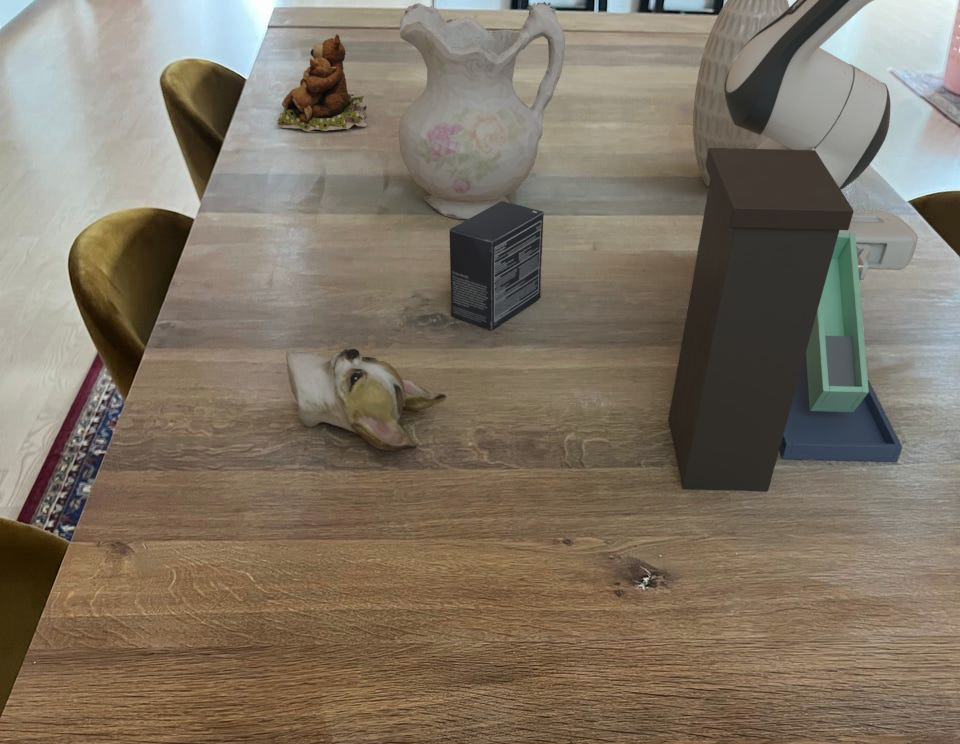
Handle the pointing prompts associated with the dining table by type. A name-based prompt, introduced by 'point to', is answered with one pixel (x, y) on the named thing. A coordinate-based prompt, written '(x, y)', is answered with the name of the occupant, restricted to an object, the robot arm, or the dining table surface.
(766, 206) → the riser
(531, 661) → the dining table surface
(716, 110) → the vase
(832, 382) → the slim bin
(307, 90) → the bear figurine
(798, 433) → the tray
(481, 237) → the small box
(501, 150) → the ceramic pitcher
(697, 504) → the dining table surface
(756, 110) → the robot arm
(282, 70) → the dining table surface
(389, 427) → the ceramic sculpture
